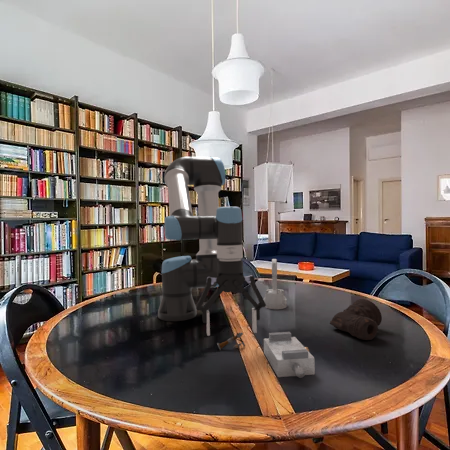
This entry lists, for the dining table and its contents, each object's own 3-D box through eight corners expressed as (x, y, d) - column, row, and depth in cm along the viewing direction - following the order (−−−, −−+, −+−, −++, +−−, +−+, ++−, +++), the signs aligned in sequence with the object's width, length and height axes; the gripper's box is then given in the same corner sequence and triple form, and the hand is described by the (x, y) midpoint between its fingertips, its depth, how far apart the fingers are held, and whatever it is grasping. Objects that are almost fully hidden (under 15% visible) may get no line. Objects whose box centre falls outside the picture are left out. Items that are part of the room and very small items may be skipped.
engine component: (262, 308, 133) (286, 309, 131) (261, 260, 133) (285, 260, 131) (264, 302, 143) (286, 303, 141) (263, 257, 143) (286, 257, 141)
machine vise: (281, 383, 71) (281, 359, 71) (263, 352, 88) (263, 333, 88) (324, 380, 72) (323, 356, 72) (298, 350, 89) (298, 331, 89)
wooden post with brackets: (248, 345, 91) (242, 331, 91) (224, 358, 90) (217, 344, 90) (247, 343, 93) (240, 329, 93) (223, 356, 92) (216, 342, 92)
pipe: (359, 318, 93) (390, 303, 100) (322, 309, 106) (352, 296, 113) (365, 350, 93) (396, 332, 100) (327, 337, 106) (357, 322, 113)
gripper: (186, 262, 86) (188, 339, 86) (275, 259, 89) (276, 334, 89) (187, 259, 94) (188, 331, 93) (268, 257, 97) (270, 326, 96)
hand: (231, 332), depth 91 cm, fingers open, 13 cm apart
